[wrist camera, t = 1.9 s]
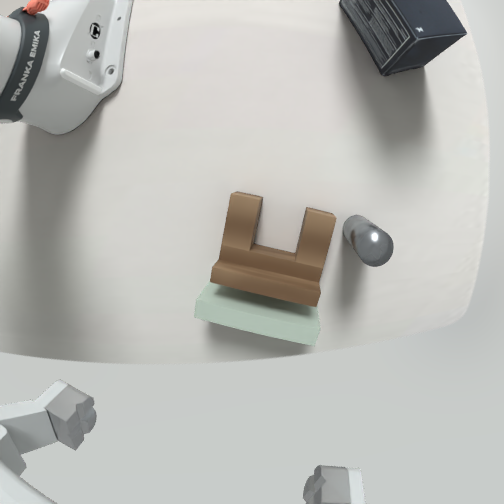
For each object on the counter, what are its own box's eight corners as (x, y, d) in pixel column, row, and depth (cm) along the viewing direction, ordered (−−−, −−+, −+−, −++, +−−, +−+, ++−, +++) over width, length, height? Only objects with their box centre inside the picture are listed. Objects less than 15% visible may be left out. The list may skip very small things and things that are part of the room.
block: (236, 191, 30) (224, 196, 25) (332, 213, 30) (340, 222, 24) (223, 264, 33) (209, 282, 27) (313, 285, 32) (316, 307, 27)
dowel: (346, 211, 30) (364, 225, 22) (373, 219, 30) (397, 235, 22) (339, 239, 31) (353, 262, 23) (365, 246, 30) (387, 270, 23)
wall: (212, 277, 34) (196, 299, 28) (316, 302, 33) (320, 328, 27) (209, 293, 34) (193, 317, 29) (311, 317, 33) (314, 346, 28)
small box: (427, 66, 24) (472, 35, 14) (381, 78, 25) (416, 42, 15) (383, -6, 22) (407, -54, 12) (336, 2, 23) (348, -50, 13)
